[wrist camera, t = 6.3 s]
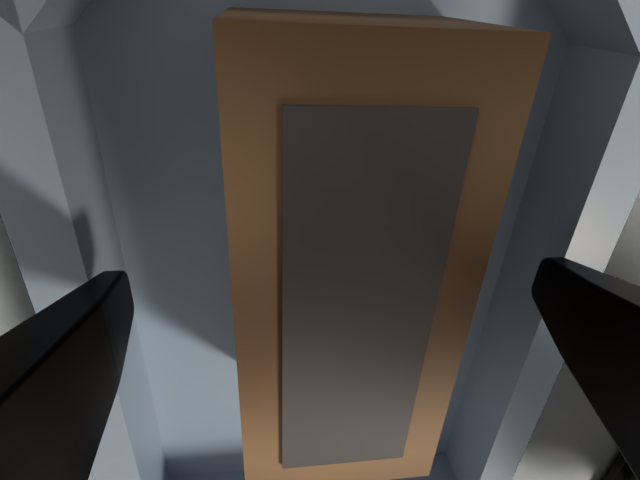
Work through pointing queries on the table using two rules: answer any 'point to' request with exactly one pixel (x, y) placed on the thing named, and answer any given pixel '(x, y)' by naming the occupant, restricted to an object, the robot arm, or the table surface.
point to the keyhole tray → (210, 213)
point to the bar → (360, 223)
